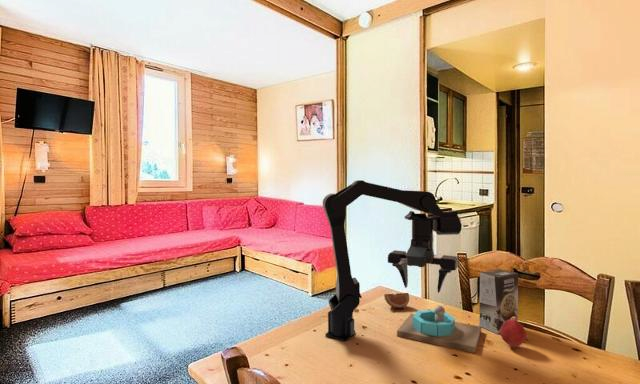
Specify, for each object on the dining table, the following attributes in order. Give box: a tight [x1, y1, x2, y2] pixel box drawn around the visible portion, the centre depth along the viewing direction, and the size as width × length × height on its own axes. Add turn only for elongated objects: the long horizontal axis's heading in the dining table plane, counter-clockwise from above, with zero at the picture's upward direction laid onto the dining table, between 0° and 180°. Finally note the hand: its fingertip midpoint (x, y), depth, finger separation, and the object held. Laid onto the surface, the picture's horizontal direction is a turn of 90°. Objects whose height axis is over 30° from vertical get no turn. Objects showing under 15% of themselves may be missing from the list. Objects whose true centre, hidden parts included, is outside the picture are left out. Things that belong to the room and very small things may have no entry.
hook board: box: [396, 305, 482, 354], centre depth 98 cm, size 20×14×8 cm
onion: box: [499, 317, 527, 349], centre depth 90 cm, size 6×6×8 cm
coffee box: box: [478, 268, 519, 335], centre depth 102 cm, size 9×6×16 cm
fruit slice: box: [383, 292, 410, 310], centre depth 119 cm, size 8×7×5 cm
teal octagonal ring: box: [413, 309, 456, 337], centre depth 99 cm, size 11×11×3 cm
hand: (422, 289), depth 100 cm, fingers open, 9 cm apart
